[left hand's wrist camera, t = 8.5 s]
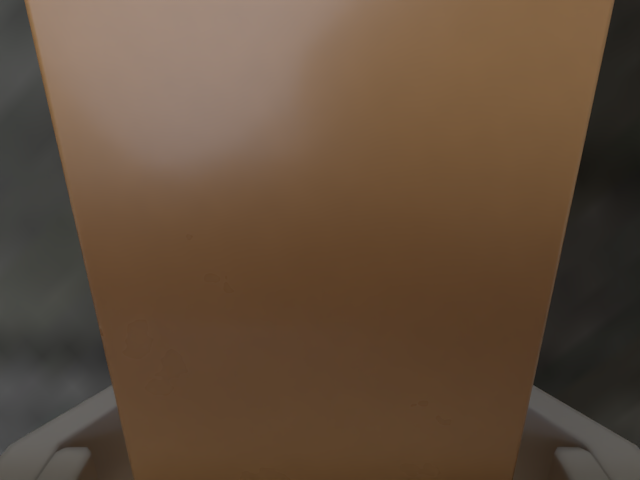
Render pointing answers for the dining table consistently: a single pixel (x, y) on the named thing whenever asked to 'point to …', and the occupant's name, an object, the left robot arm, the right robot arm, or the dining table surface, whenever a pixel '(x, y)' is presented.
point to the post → (321, 222)
